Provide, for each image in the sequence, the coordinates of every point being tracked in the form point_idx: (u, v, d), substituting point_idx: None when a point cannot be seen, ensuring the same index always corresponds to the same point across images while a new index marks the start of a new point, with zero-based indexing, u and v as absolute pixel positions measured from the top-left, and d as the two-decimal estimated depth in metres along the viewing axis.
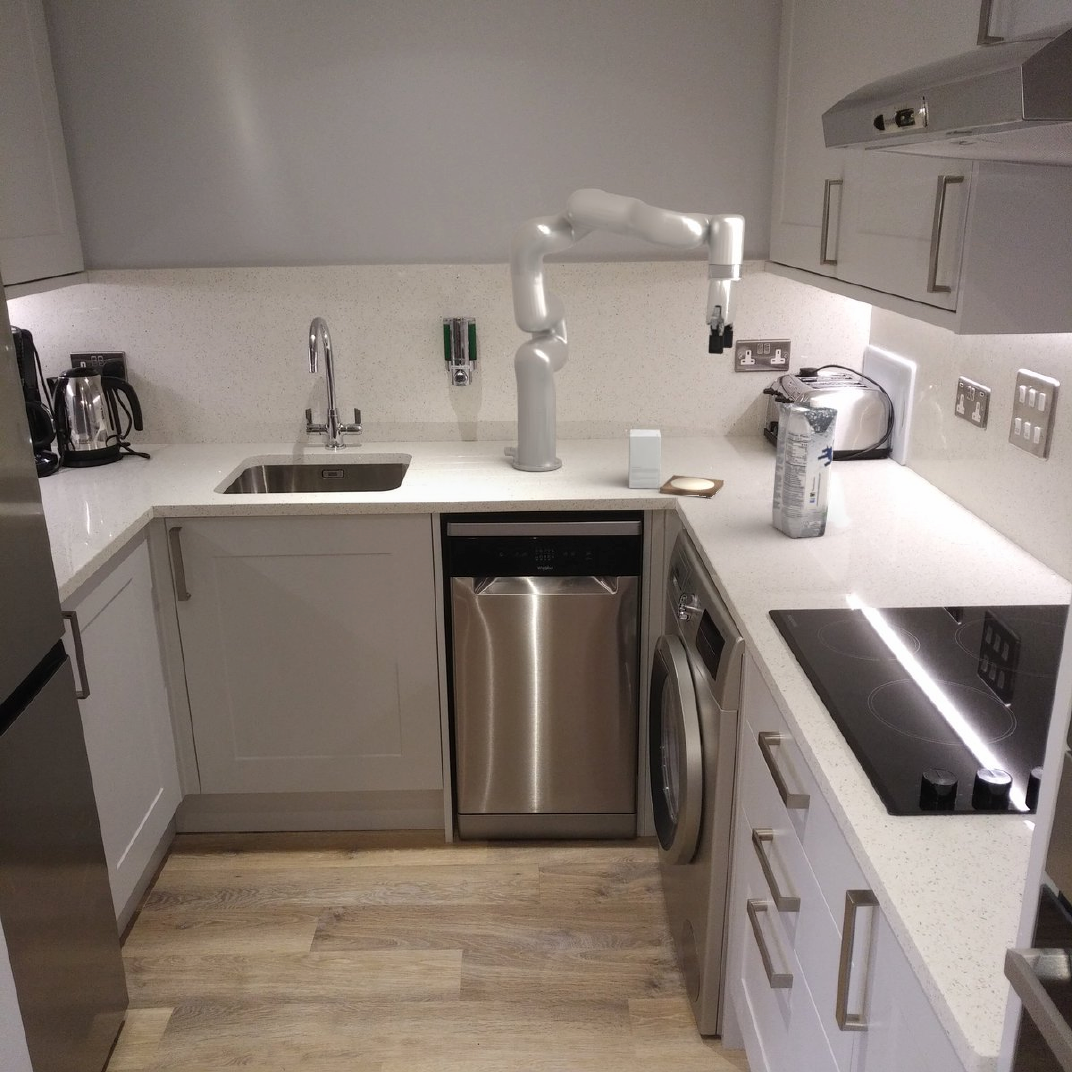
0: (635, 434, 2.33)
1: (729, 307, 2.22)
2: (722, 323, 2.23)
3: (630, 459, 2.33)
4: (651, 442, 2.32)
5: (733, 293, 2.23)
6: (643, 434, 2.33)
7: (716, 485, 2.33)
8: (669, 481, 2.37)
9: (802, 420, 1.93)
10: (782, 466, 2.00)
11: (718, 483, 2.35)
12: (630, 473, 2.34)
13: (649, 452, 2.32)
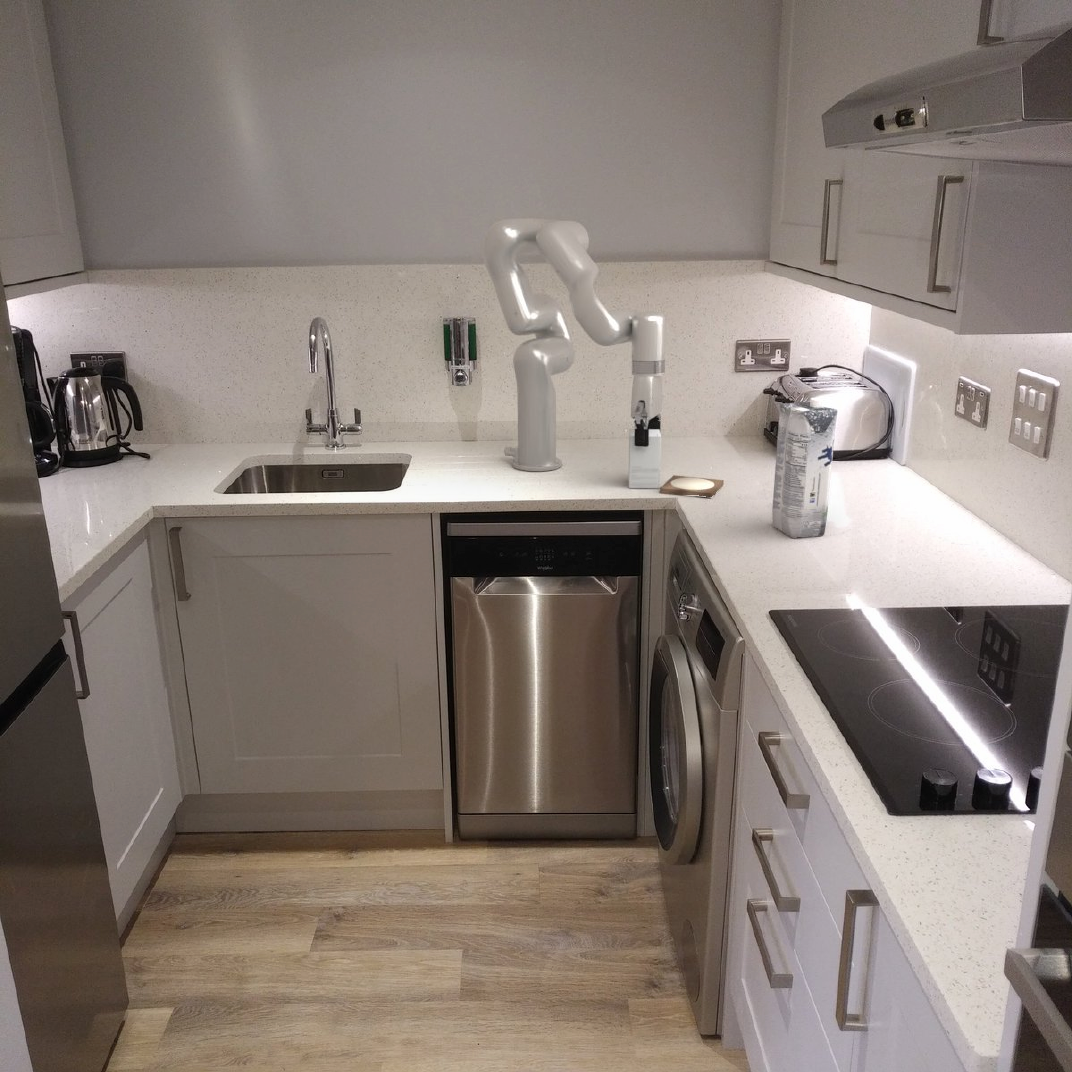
0: None
1: (652, 401, 2.28)
2: (646, 417, 2.28)
3: (630, 459, 2.33)
4: (651, 442, 2.32)
5: (657, 388, 2.29)
6: None
7: (716, 485, 2.33)
8: (669, 481, 2.37)
9: (802, 420, 1.93)
10: (782, 466, 2.00)
11: (718, 483, 2.35)
12: (630, 473, 2.34)
13: (649, 452, 2.32)
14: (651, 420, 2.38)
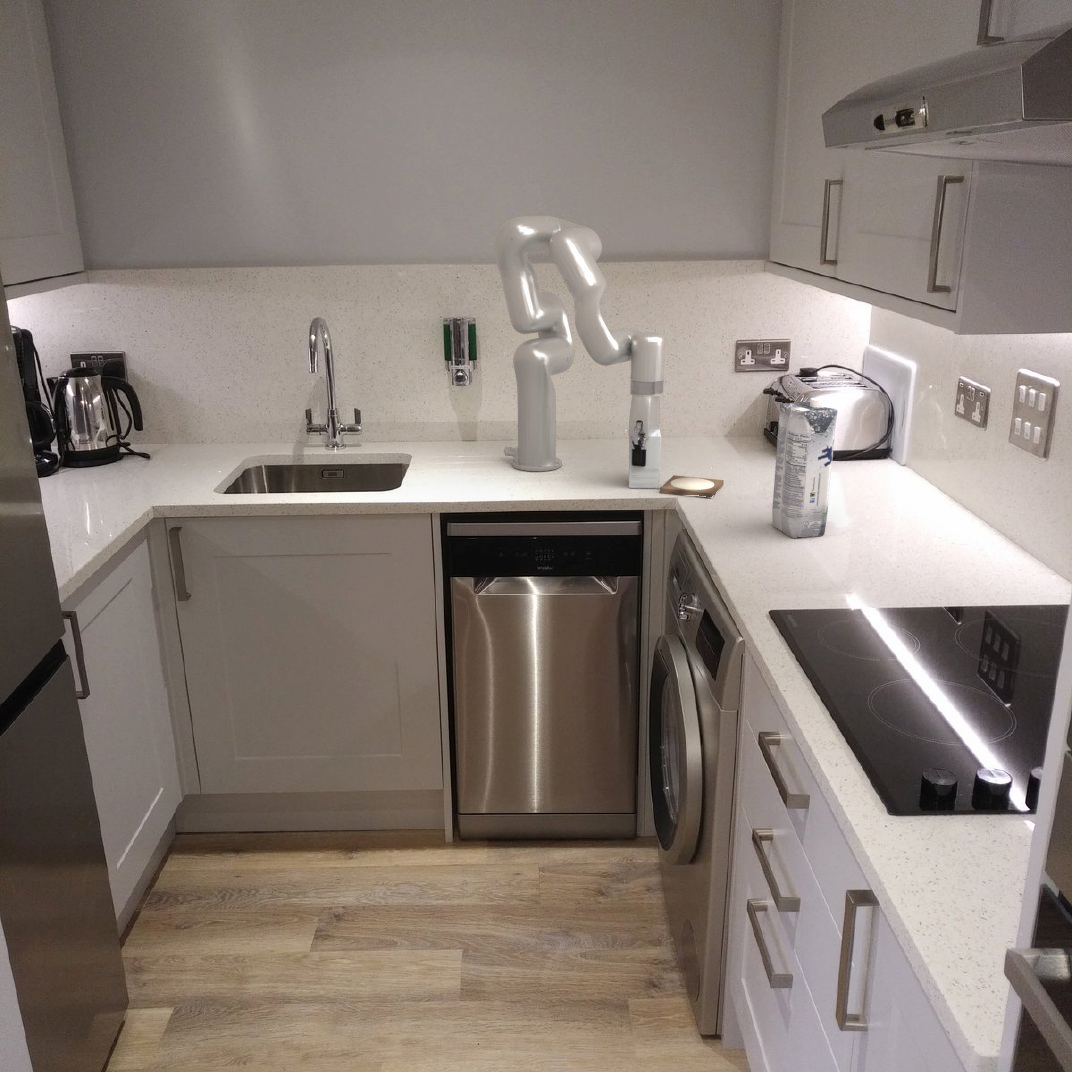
0: None
1: (650, 422, 2.29)
2: (644, 437, 2.30)
3: (630, 459, 2.33)
4: (651, 442, 2.32)
5: (655, 408, 2.31)
6: None
7: (716, 485, 2.33)
8: (669, 481, 2.37)
9: (802, 420, 1.93)
10: (782, 466, 2.00)
11: (718, 483, 2.35)
12: (630, 473, 2.34)
13: (649, 451, 2.32)
14: None
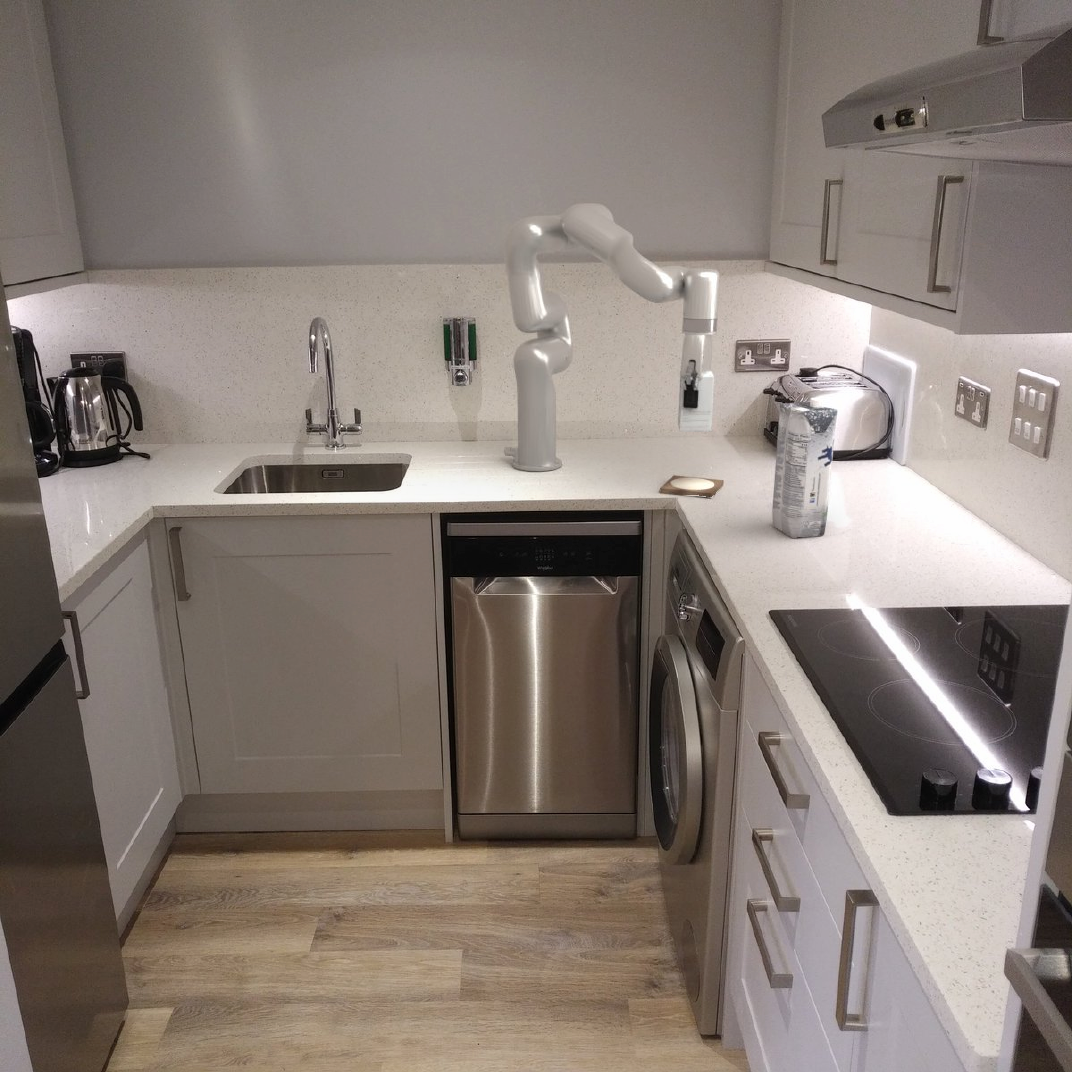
0: None
1: (703, 361, 2.21)
2: (696, 378, 2.22)
3: (681, 400, 2.25)
4: (704, 383, 2.23)
5: (708, 347, 2.22)
6: None
7: (716, 485, 2.33)
8: (669, 481, 2.37)
9: (802, 420, 1.93)
10: (782, 466, 2.00)
11: (718, 483, 2.35)
12: (681, 415, 2.26)
13: (701, 393, 2.24)
14: None
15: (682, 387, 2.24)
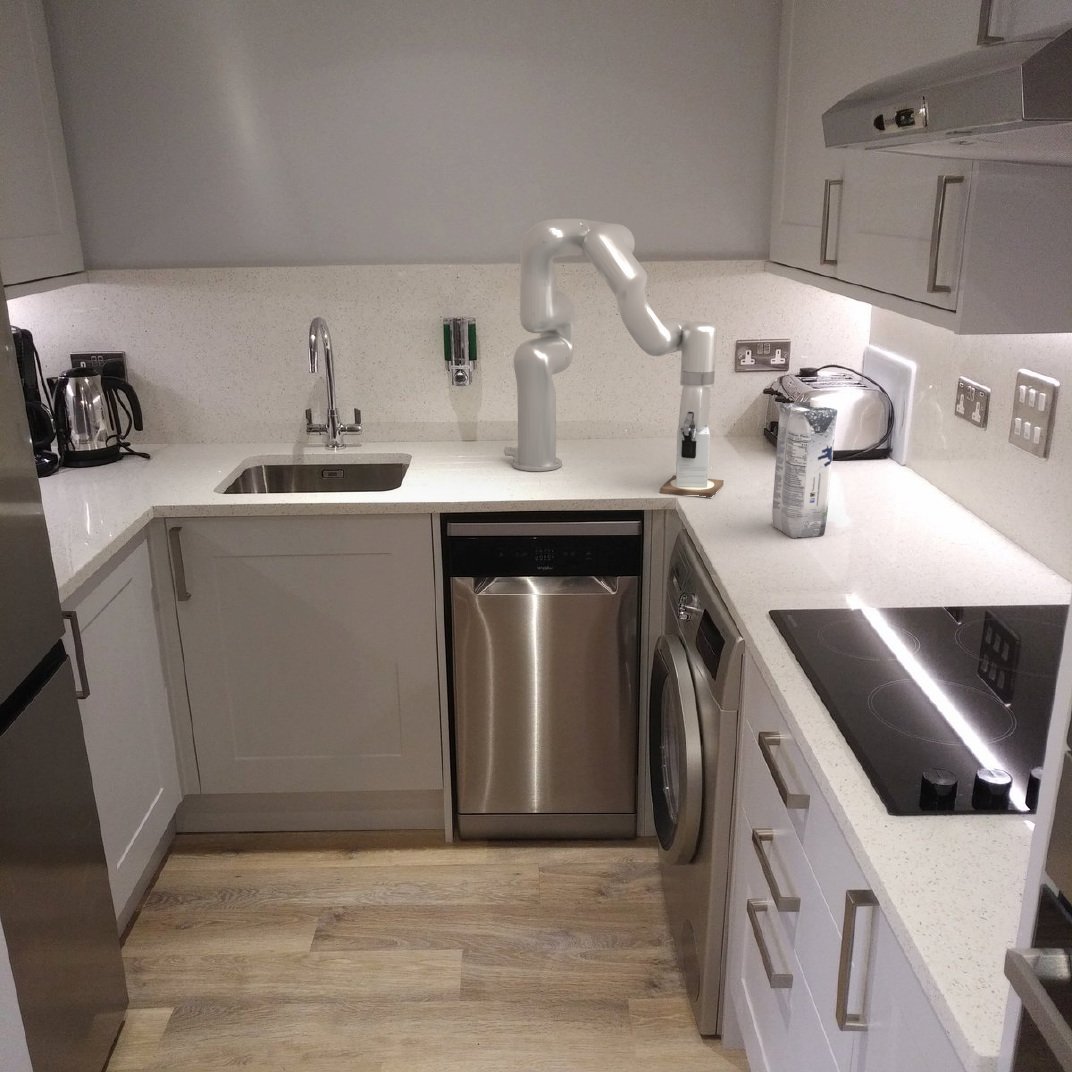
0: None
1: (701, 413, 2.25)
2: (694, 429, 2.26)
3: (677, 457, 2.30)
4: (699, 440, 2.28)
5: (705, 399, 2.26)
6: None
7: (716, 485, 2.33)
8: (669, 481, 2.37)
9: (802, 420, 1.93)
10: (782, 466, 2.00)
11: (718, 483, 2.35)
12: (677, 471, 2.31)
13: (697, 449, 2.28)
14: None
15: (678, 444, 2.29)
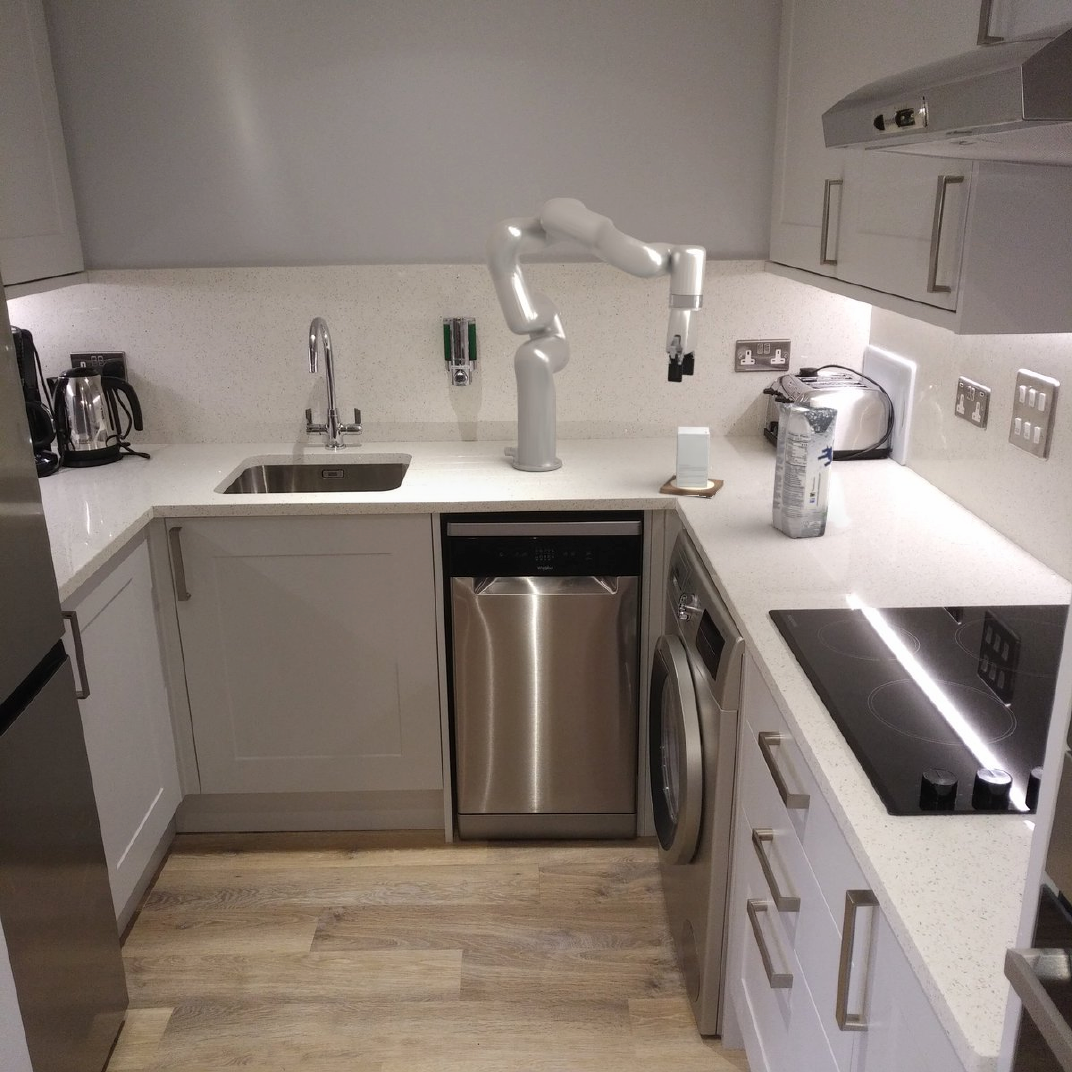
0: (683, 431, 2.29)
1: (688, 336, 2.25)
2: (681, 352, 2.26)
3: (677, 457, 2.30)
4: (699, 440, 2.28)
5: (693, 323, 2.26)
6: (691, 431, 2.29)
7: (716, 485, 2.33)
8: (669, 481, 2.37)
9: (802, 420, 1.93)
10: (782, 466, 2.00)
11: (718, 483, 2.35)
12: (677, 471, 2.31)
13: (697, 449, 2.28)
14: (685, 357, 2.35)
15: (678, 444, 2.29)
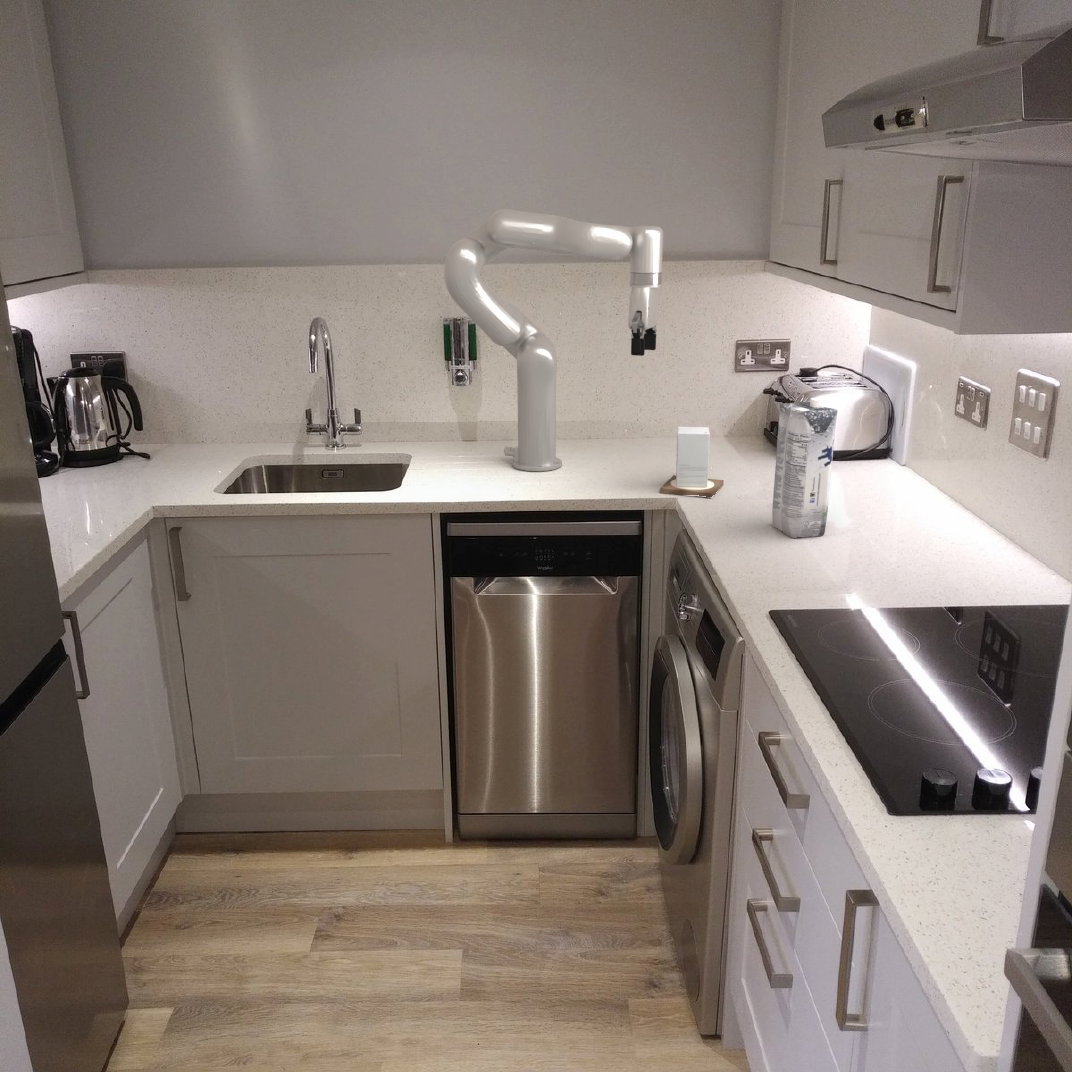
0: (683, 431, 2.29)
1: (649, 312, 2.39)
2: (643, 327, 2.40)
3: (677, 457, 2.30)
4: (699, 440, 2.28)
5: (653, 299, 2.41)
6: (691, 431, 2.29)
7: (716, 485, 2.33)
8: (669, 481, 2.37)
9: (802, 420, 1.93)
10: (782, 466, 2.00)
11: (718, 483, 2.35)
12: (677, 471, 2.31)
13: (697, 449, 2.28)
14: (647, 333, 2.50)
15: (678, 444, 2.29)
